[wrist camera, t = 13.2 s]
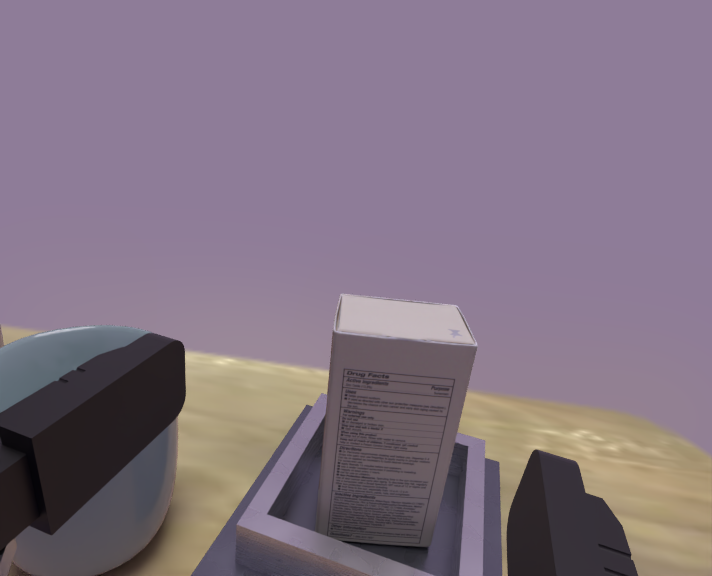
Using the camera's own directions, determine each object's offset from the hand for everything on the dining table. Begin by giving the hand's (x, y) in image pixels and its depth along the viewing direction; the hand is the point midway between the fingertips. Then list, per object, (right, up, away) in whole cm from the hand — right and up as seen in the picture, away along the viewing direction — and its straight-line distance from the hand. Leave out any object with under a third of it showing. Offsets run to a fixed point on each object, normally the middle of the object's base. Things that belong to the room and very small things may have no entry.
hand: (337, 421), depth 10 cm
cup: (-13, -10, +13) cm, 20 cm away
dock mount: (+1, -10, +15) cm, 18 cm away
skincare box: (+1, -10, +15) cm, 18 cm away
